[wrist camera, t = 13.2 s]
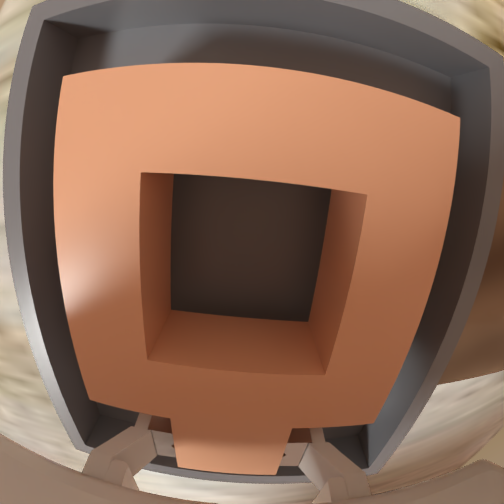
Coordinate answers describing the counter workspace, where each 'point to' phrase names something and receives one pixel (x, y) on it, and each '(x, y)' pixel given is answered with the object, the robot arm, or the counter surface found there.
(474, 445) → the counter surface
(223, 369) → the ring
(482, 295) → the stake stand
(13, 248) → the tray
